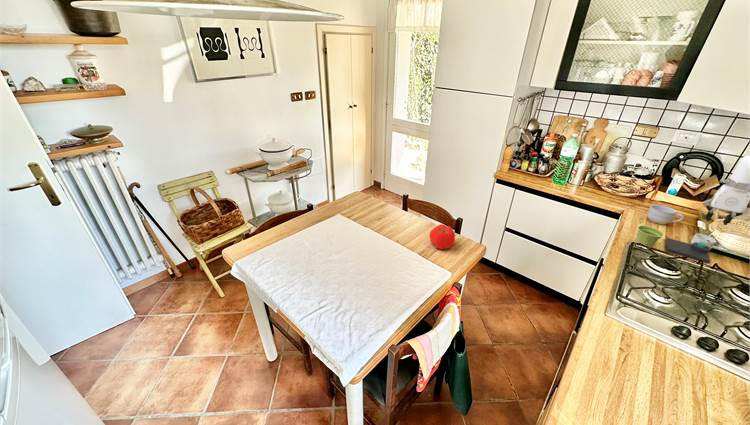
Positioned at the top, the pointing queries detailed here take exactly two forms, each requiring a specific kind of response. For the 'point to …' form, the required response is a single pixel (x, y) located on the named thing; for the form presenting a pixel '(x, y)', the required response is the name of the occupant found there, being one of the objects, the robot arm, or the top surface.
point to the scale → (687, 250)
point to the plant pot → (648, 235)
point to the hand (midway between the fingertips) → (716, 221)
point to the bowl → (703, 239)
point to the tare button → (702, 245)
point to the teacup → (662, 214)
